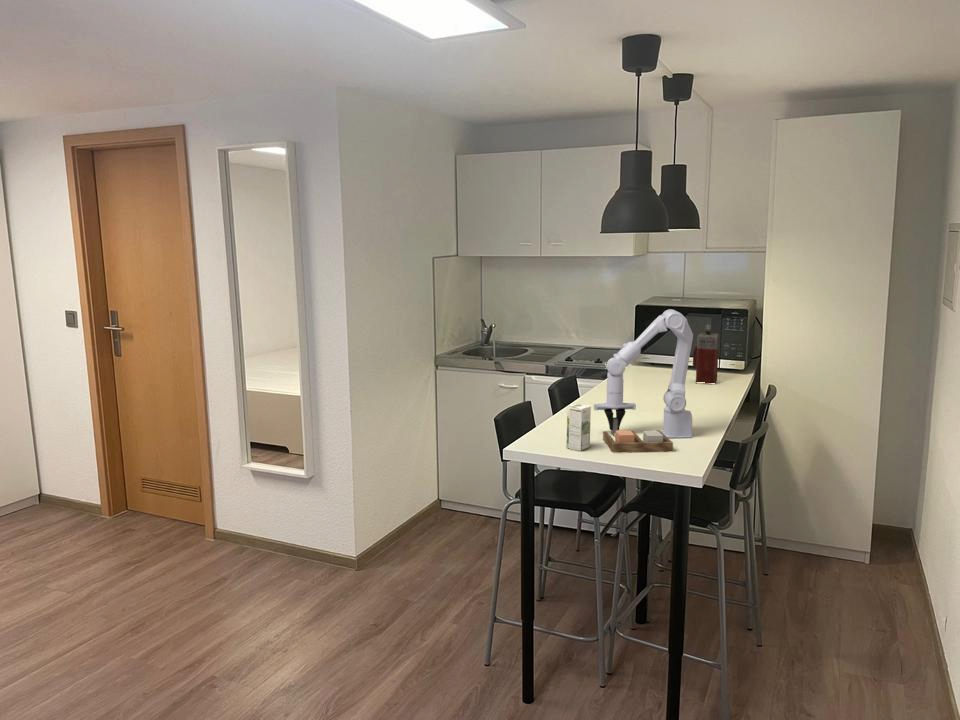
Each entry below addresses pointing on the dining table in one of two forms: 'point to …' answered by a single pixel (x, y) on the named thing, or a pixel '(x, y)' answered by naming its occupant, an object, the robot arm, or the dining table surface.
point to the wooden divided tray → (638, 444)
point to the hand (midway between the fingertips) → (614, 429)
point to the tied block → (621, 433)
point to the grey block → (652, 436)
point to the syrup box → (578, 427)
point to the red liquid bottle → (706, 356)
